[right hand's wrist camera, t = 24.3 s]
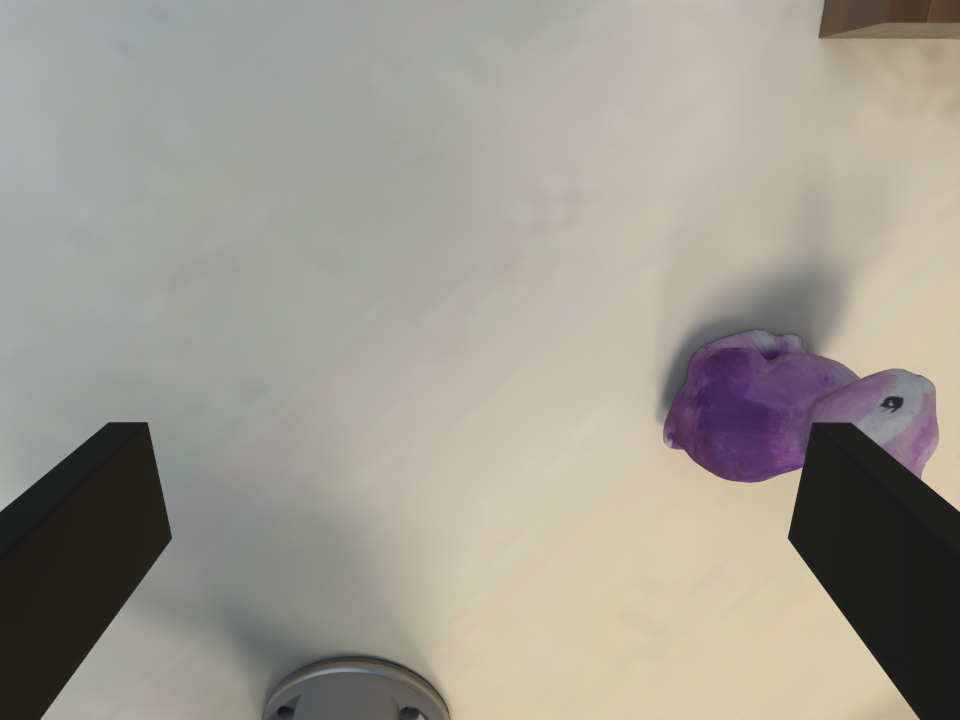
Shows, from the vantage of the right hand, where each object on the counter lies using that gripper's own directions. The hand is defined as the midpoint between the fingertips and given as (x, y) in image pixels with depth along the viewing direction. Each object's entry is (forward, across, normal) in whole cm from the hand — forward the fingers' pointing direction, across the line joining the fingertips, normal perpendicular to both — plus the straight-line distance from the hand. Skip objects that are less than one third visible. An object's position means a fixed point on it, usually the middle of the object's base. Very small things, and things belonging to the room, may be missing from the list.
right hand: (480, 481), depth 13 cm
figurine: (+27, -17, +9) cm, 33 cm away
